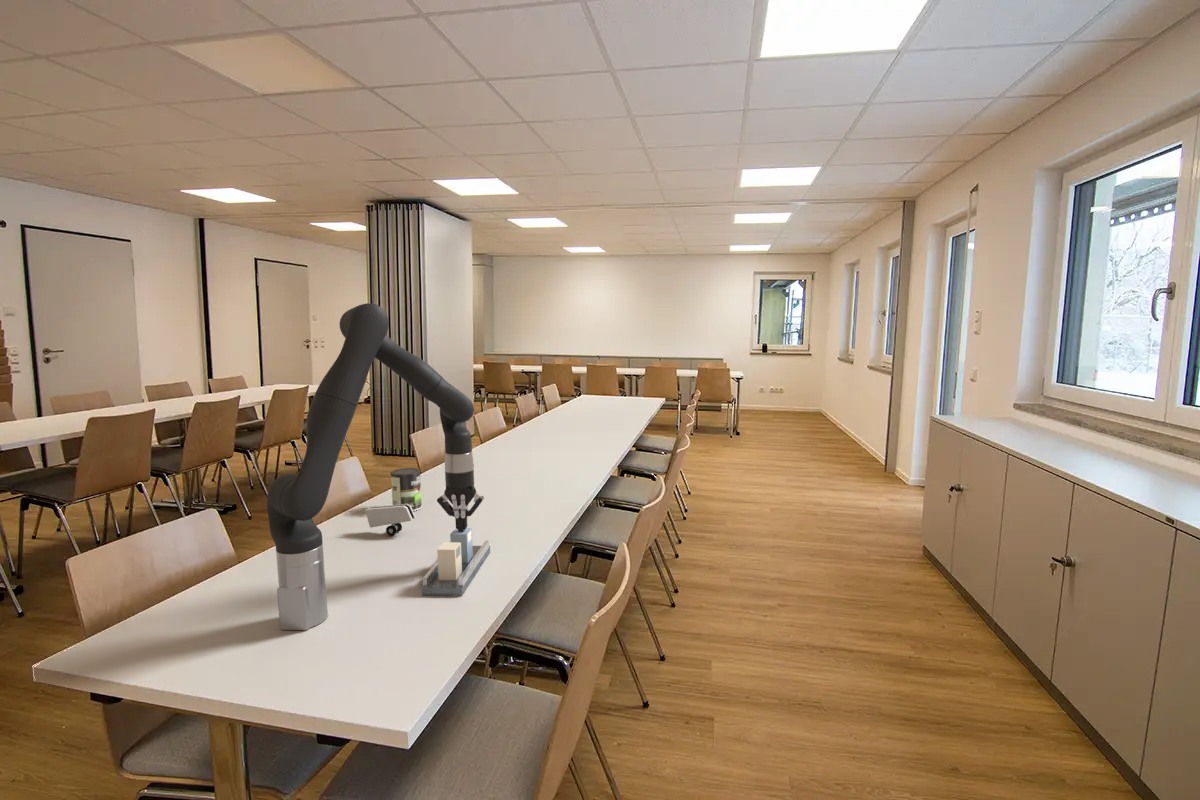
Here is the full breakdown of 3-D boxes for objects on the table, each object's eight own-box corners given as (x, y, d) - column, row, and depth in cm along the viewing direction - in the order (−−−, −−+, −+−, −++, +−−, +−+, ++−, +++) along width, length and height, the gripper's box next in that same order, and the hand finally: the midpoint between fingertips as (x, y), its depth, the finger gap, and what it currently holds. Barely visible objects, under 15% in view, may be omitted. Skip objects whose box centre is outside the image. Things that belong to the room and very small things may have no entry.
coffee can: (426, 504, 217) (425, 468, 215) (413, 513, 206) (411, 474, 205) (401, 504, 218) (399, 467, 216) (387, 512, 208) (384, 474, 206)
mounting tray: (462, 596, 142) (461, 580, 141) (421, 595, 142) (421, 579, 142) (490, 552, 169) (489, 539, 169) (456, 552, 170) (456, 538, 169)
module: (467, 562, 157) (466, 534, 156) (451, 562, 157) (450, 534, 156) (473, 555, 162) (472, 528, 161) (456, 555, 162) (455, 527, 161)
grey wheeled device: (371, 539, 185) (413, 532, 182) (364, 509, 184) (406, 502, 181) (378, 534, 189) (419, 528, 186) (371, 506, 188) (412, 498, 185)
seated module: (456, 580, 146) (455, 549, 145) (438, 580, 146) (437, 549, 145) (462, 572, 151) (461, 542, 150) (444, 571, 151) (443, 542, 150)
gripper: (430, 471, 153) (433, 535, 155) (479, 471, 152) (482, 535, 154) (439, 465, 160) (442, 525, 163) (486, 465, 160) (489, 526, 162)
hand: (461, 530), depth 158 cm, fingers closed
